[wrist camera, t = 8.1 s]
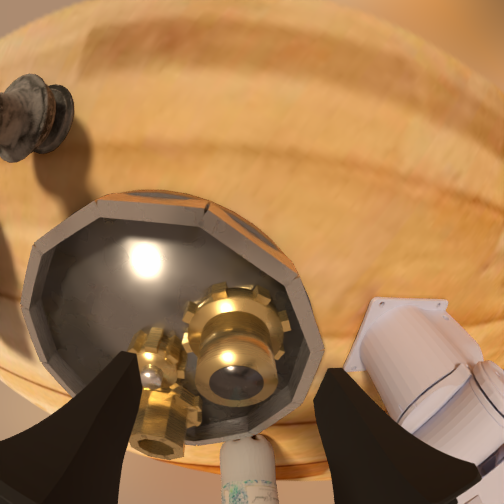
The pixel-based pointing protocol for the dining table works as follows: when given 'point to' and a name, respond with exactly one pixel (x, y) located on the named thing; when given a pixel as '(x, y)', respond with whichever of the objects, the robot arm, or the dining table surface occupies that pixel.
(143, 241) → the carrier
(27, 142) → the grey chess piece
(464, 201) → the dining table surface
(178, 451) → the planet gear
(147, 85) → the dining table surface
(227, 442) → the bottle
